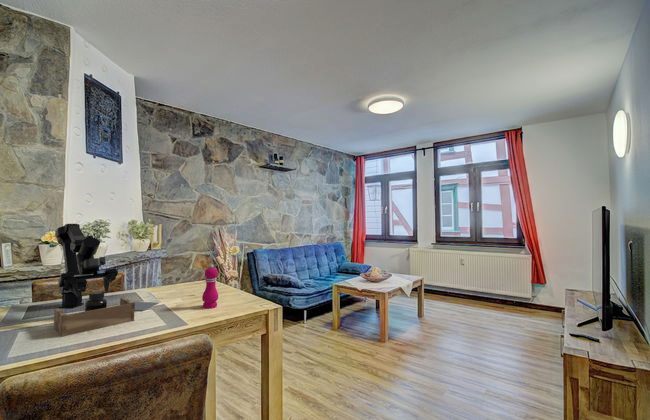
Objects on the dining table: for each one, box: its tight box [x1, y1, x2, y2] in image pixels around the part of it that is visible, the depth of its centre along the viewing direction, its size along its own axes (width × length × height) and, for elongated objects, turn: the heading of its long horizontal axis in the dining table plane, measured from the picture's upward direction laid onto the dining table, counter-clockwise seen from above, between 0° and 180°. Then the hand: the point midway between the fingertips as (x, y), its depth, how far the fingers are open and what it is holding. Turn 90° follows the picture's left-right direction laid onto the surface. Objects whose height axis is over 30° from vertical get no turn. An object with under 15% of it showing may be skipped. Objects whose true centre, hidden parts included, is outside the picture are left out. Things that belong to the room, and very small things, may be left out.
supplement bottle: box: [84, 291, 108, 311], centre depth 118 cm, size 7×7×12 cm
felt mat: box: [132, 301, 159, 312], centre depth 140 cm, size 12×12×1 cm
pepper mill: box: [201, 263, 219, 309], centre depth 144 cm, size 7×7×20 cm
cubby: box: [53, 297, 135, 337], centre depth 117 cm, size 12×22×7 cm, turn 142°
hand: (93, 294), depth 120 cm, fingers open, 9 cm apart
